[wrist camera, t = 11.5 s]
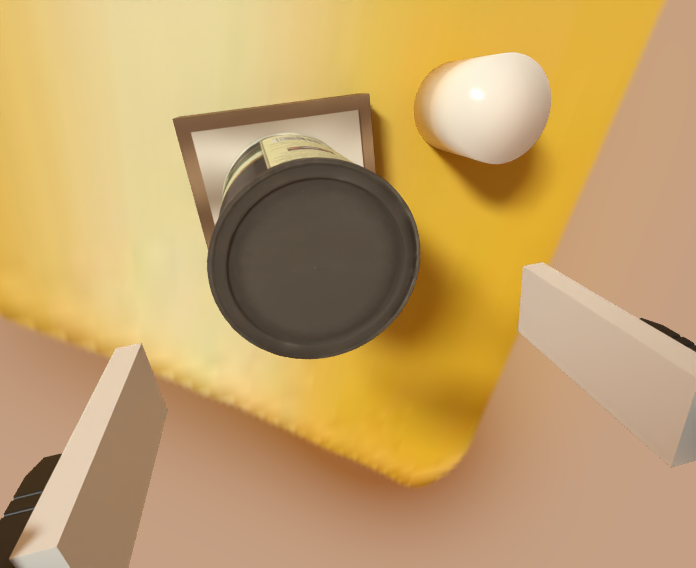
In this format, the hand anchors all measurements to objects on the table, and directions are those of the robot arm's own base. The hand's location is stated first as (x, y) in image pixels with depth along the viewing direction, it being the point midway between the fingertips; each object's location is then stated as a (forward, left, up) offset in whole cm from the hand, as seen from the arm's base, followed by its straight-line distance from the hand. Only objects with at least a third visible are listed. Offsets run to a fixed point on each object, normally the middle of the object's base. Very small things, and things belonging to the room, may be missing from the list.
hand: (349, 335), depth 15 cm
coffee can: (0, 0, -21) cm, 21 cm away
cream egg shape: (-5, +15, -24) cm, 28 cm away
